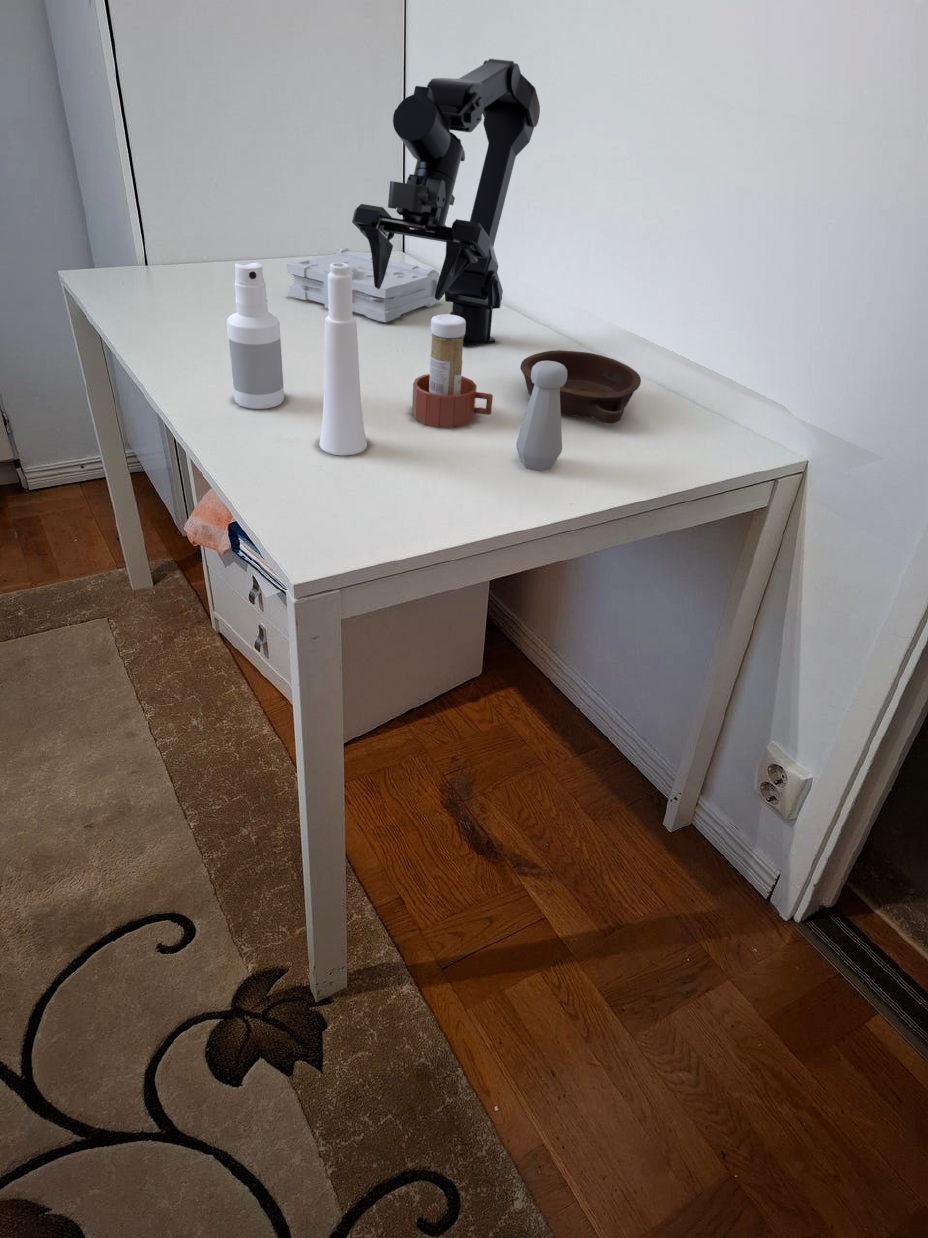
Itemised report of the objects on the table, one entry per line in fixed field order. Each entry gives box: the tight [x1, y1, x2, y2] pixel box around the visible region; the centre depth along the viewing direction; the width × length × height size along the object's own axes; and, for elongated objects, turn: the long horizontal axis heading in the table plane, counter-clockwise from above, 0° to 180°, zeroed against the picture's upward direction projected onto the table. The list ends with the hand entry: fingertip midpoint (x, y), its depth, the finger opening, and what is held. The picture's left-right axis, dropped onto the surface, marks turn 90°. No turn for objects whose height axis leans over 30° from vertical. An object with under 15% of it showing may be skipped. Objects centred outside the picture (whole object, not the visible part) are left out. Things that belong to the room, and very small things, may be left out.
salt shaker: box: [515, 361, 567, 472], centre depth 102 cm, size 6×6×13 cm
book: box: [286, 247, 440, 323], centre depth 155 cm, size 19×28×8 cm
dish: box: [519, 349, 642, 424], centre depth 122 cm, size 17×22×5 cm
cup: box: [411, 373, 494, 429], centre depth 114 cm, size 11×9×4 cm
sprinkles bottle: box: [429, 313, 466, 395], centre depth 112 cm, size 5×5×14 cm
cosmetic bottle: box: [318, 263, 368, 456], centre depth 99 cm, size 6×6×22 cm
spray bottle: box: [226, 261, 285, 410], centre depth 110 cm, size 7×7×18 cm
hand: (406, 293), depth 114 cm, fingers open, 9 cm apart
